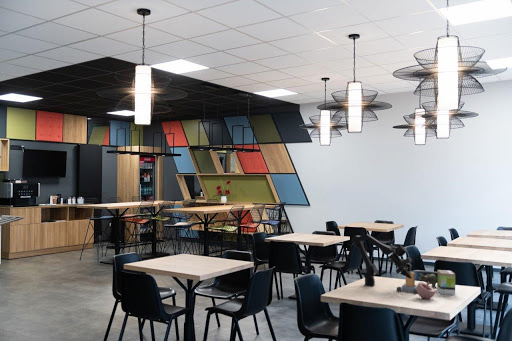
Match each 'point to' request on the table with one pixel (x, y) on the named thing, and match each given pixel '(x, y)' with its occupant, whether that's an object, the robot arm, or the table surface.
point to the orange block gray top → (410, 281)
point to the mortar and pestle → (425, 290)
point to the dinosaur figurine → (429, 279)
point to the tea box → (446, 282)
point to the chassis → (407, 289)
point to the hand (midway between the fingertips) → (412, 277)
